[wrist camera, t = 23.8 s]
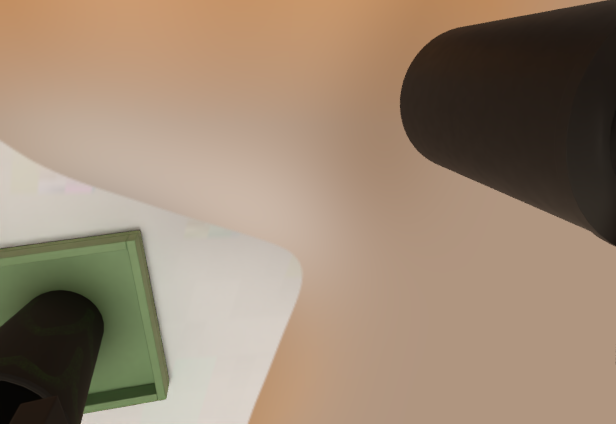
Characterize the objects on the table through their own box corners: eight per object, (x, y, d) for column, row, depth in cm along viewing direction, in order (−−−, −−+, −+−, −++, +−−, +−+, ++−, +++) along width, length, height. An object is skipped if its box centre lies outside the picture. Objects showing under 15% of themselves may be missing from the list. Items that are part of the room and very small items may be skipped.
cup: (104, 385, 38) (53, 520, 27) (-8, 362, 36) (-114, 497, 25) (131, 291, 37) (90, 391, 25) (16, 263, 35) (-85, 357, 23)
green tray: (140, 229, 36) (134, 240, 34) (169, 381, 40) (166, 399, 38) (-47, 254, 35) (-65, 267, 33) (0, 410, 38) (-14, 431, 36)
